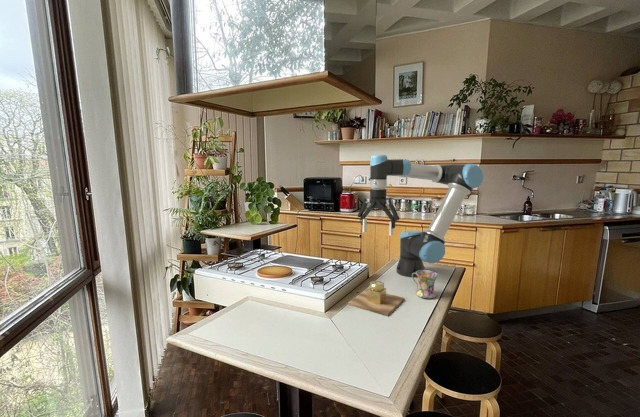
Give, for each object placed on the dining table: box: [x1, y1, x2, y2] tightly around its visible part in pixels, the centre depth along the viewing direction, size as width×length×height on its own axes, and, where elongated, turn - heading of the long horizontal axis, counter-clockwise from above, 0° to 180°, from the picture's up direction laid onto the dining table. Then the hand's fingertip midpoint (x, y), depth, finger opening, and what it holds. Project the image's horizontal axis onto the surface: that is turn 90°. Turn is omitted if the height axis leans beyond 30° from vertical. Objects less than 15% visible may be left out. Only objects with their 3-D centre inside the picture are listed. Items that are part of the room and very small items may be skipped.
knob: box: [367, 280, 387, 304], centre depth 132 cm, size 6×6×8 cm
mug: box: [411, 269, 438, 299], centre depth 139 cm, size 12×9×11 cm
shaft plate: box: [347, 288, 405, 317], centre depth 132 cm, size 18×18×5 cm
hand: (377, 233), depth 145 cm, fingers open, 13 cm apart
